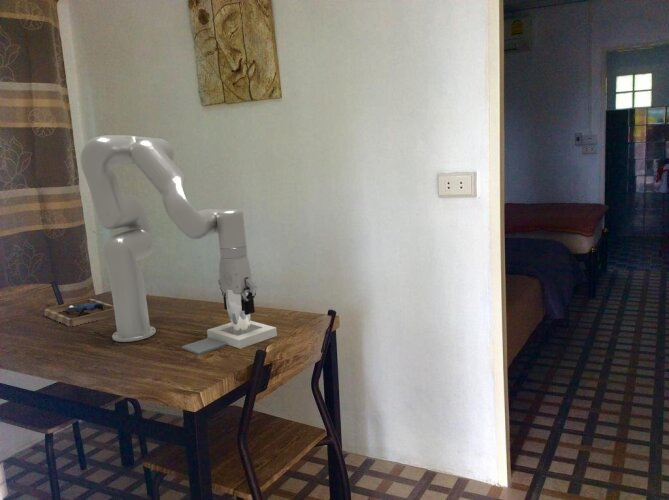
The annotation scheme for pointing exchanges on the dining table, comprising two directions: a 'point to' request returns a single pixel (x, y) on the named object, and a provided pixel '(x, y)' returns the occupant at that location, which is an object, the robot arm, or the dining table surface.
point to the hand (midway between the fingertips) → (239, 311)
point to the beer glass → (237, 313)
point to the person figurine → (84, 307)
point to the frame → (107, 313)
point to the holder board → (256, 335)
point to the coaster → (204, 346)
